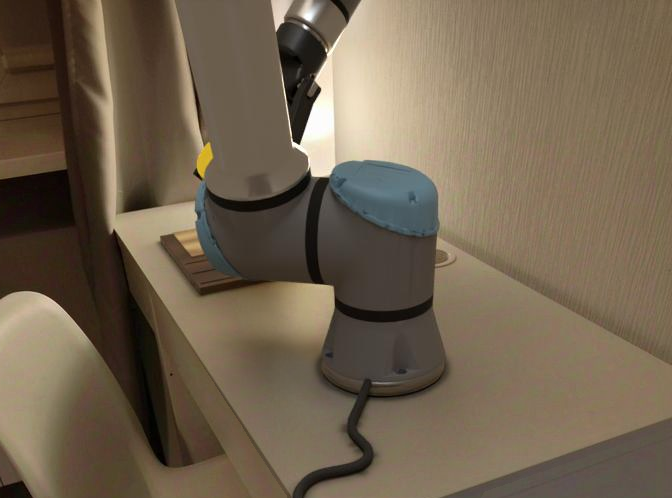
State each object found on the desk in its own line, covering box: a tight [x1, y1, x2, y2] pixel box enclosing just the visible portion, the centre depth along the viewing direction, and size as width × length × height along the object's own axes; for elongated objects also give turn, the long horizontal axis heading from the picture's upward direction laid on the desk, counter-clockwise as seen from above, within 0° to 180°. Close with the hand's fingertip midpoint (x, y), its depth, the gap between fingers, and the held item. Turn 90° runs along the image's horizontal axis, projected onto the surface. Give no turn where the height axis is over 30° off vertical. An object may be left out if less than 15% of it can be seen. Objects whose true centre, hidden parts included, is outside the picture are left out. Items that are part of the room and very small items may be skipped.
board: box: [159, 228, 270, 296], centre depth 122 cm, size 26×17×1 cm, turn 23°
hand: (222, 188), depth 99 cm, fingers closed on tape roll, 10 cm apart
